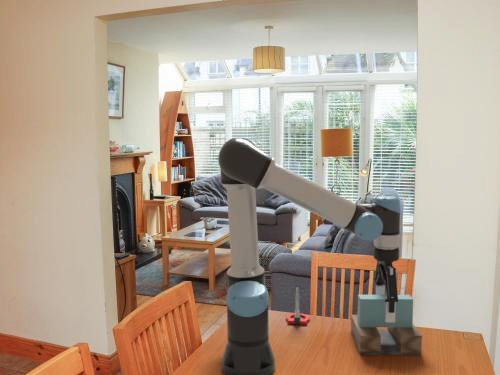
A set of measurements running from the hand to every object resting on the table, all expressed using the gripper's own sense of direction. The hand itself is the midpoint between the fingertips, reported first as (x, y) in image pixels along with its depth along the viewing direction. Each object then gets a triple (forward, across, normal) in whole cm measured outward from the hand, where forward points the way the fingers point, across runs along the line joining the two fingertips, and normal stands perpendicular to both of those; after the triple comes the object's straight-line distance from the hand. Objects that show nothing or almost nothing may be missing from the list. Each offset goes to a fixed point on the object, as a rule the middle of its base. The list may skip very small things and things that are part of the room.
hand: (384, 313), depth 149 cm
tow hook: (+10, +18, +26) cm, 33 cm away
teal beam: (+4, 0, 0) cm, 4 cm away
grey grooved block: (+10, 0, 0) cm, 10 cm away
